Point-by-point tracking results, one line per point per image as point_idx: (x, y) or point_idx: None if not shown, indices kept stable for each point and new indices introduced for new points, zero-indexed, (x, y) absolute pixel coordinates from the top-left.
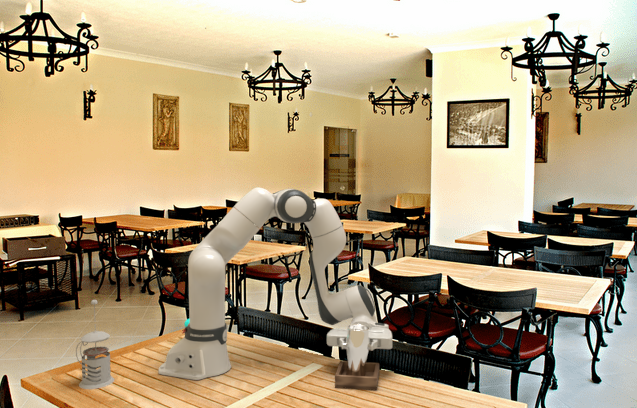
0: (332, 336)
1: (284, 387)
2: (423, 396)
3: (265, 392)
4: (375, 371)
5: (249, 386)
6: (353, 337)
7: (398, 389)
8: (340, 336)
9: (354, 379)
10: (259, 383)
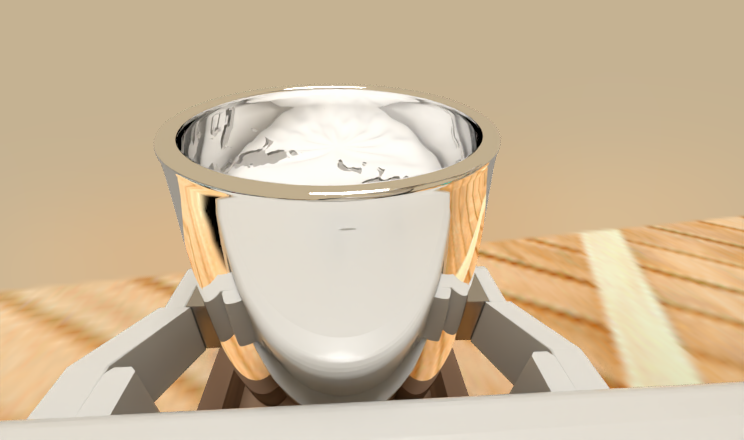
0: (721, 383)
1: (601, 311)
2: (41, 325)
3: (614, 274)
4: (219, 394)
5: (703, 300)
6: (370, 154)
7: None
8: (622, 388)
9: None
10: (710, 326)
